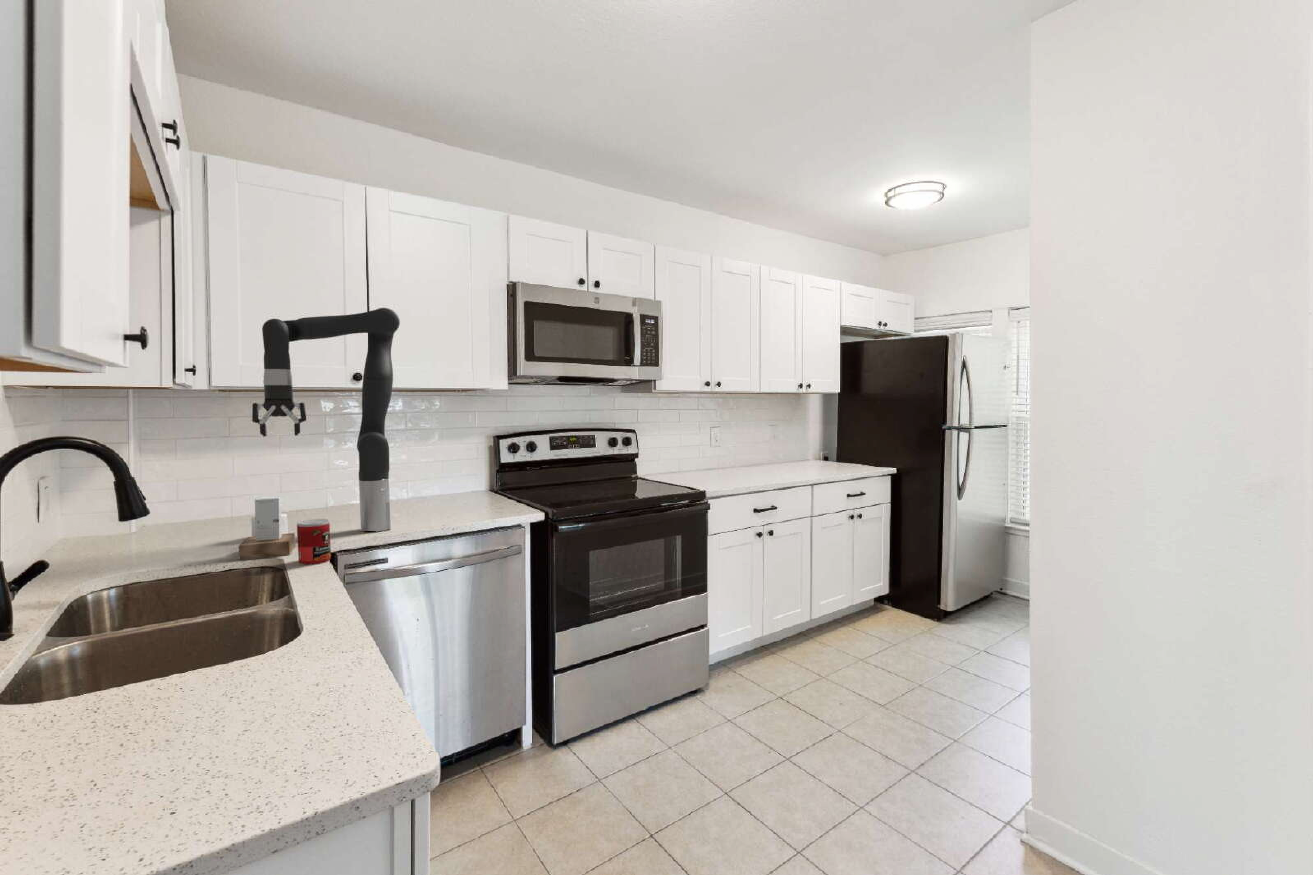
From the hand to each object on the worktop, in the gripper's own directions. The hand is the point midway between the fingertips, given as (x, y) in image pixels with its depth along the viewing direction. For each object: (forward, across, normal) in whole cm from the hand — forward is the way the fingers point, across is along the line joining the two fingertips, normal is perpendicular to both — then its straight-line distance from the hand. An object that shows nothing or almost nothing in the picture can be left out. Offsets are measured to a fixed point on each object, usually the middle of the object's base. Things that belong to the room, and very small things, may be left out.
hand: (280, 435), depth 189 cm
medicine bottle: (+33, +5, -6) cm, 34 cm away
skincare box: (+29, +2, +17) cm, 34 cm away
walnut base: (+33, +2, +17) cm, 37 cm away
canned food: (+33, -11, +34) cm, 49 cm away
